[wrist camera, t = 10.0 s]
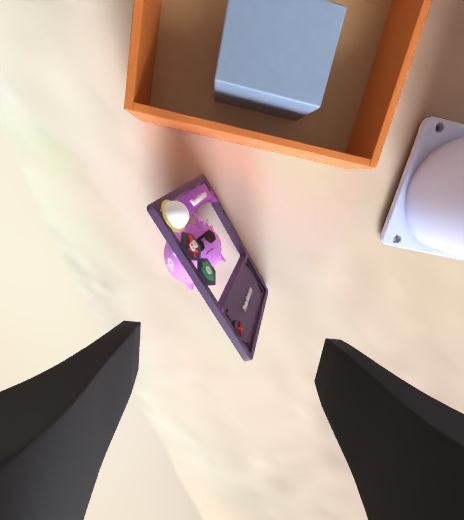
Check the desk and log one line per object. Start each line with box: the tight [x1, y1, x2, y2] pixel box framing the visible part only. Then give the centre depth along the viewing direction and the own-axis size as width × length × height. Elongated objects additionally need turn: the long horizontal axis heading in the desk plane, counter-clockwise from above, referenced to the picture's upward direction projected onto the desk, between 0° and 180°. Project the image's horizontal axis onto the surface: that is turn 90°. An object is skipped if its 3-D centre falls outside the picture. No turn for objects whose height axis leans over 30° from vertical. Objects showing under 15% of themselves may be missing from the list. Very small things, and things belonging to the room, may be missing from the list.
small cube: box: [214, 0, 347, 121], centre depth 14 cm, size 5×4×4 cm
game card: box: [147, 174, 268, 361], centre depth 17 cm, size 7×5×9 cm
